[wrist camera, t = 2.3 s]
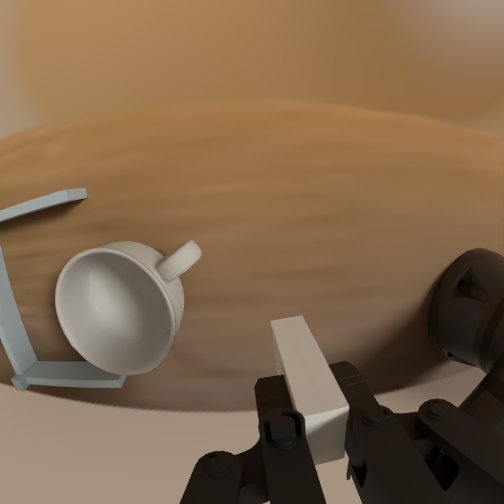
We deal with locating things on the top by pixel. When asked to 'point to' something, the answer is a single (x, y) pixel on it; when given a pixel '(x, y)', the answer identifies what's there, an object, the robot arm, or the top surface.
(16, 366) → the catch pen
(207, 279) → the top surface
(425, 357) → the top surface
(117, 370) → the teacup
